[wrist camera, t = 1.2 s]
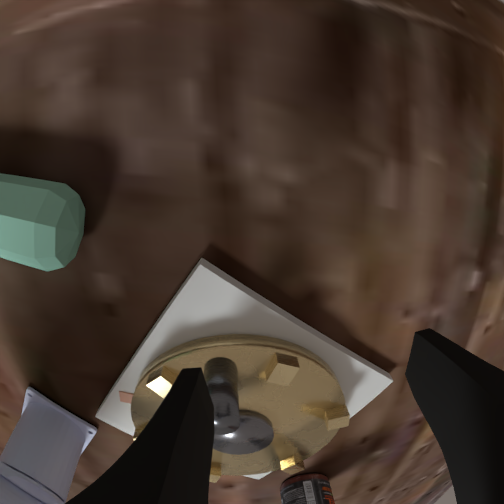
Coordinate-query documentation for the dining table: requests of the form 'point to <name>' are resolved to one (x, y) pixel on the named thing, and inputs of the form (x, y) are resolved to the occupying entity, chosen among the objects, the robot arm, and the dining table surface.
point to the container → (39, 222)
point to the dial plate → (235, 322)
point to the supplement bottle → (307, 490)
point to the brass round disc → (252, 400)
